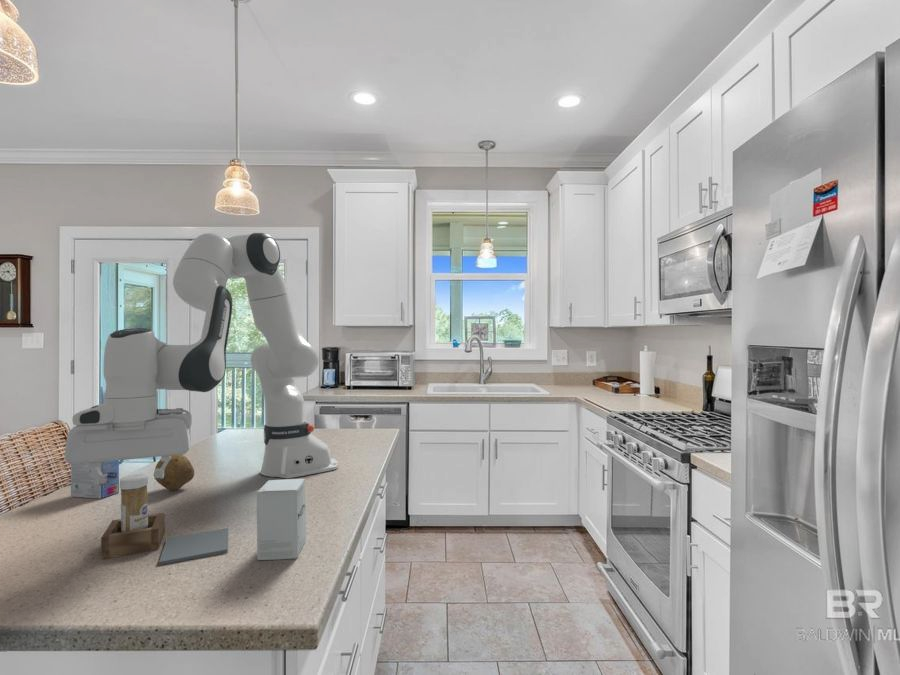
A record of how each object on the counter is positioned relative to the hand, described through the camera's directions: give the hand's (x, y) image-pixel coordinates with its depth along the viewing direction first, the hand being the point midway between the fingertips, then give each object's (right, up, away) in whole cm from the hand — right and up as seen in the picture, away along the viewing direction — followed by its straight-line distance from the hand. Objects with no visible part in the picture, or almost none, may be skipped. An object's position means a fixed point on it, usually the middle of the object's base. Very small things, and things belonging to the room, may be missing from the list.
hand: (131, 481), depth 92 cm
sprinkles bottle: (0, -13, 0) cm, 13 cm away
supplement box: (+31, -12, -3) cm, 33 cm away
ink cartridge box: (-30, -13, +30) cm, 45 cm away
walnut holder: (0, -13, 0) cm, 13 cm away
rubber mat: (+13, -12, -1) cm, 18 cm away
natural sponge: (-11, -13, +33) cm, 37 cm away
